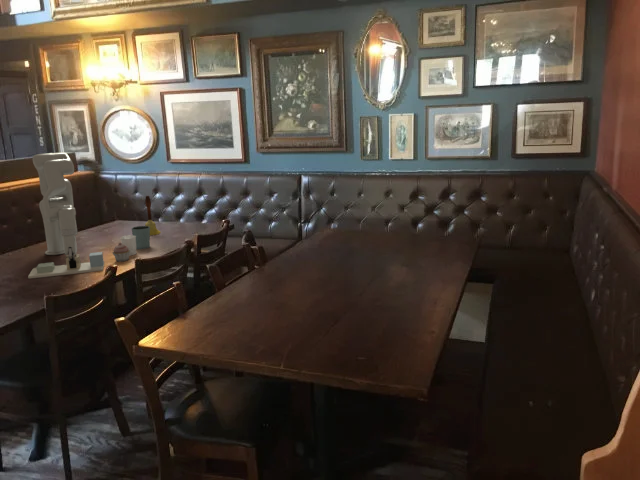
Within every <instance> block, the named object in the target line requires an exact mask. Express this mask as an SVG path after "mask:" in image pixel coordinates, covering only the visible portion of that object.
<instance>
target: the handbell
mask: <svg viewBox="0 0 640 480" xmlns="http://www.w3.org/2000/svg"><path fill="white" fill-rule="evenodd" d="M144 202H145V208H146V213H147V222H145V224H144V226H149V227H150V235H149V236H150V237H151V236H157V235H160V234H161V233H162V232H161V231H160V230H159V229H158V228H157V226H156V222H155V221H153V219H152V212H151V210H152V209H151V207H152V202H151V196H149V195H145V199H144Z"/></svg>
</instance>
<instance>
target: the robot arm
mask: <svg viewBox="0 0 640 480" xmlns="http://www.w3.org/2000/svg"><path fill="white" fill-rule="evenodd" d="M32 163H33V166H34V168H35V169H36V171H37V173H38V178H39V179H38V180H39V189H40V193H41V195H42V196H43V197H42V199H41V200H40V201H39V203H38V204H39V210H40V213H41V217H42V222H43V226H44V234H45V241H46V246H47V250H46V251H45V252H44V253H45V255H47V256H57V255H63V254H64V255H65V256H67V255H68V256H69V266H70V269H71V268H77V265H76V260H75V255H76V254H77V252H78V244H77V238H76V237H77V235H78V227H77V220H76V219H77V217H76V215H77V211H76V207H74V205H75V204H74V194H73V187H72V183H71V181H70V180H69V179H67V178H65V177H64V176H68V175H69V176H71V175H74V172H75V166H74V163H73V160H72V159H71V157H70V156H69V155H68V153H66V152H48V153H38V154H34V155H33V157H32Z"/></svg>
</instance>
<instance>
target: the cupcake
mask: <svg viewBox="0 0 640 480" xmlns="http://www.w3.org/2000/svg"><path fill="white" fill-rule="evenodd" d="M111 254H112V255H113V256H114V259H115V261H116V262H118V263H119V262H121V263H122V262H127V261H129V258H130V256H129V254H130V250H128V247H127V246H126V245H125V244H123V243H122V242H118V244H117V245H115V246H114V247H113V250H112V253H111Z"/></svg>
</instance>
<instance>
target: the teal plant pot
mask: <svg viewBox="0 0 640 480" xmlns="http://www.w3.org/2000/svg"><path fill="white" fill-rule="evenodd" d="M131 233H132V235H133V236H136V250H144V249H149V248H150V247H151V241H150V240H151V238H150V237H151V235H150V227H149V226H145V225H137V226H133V227H131ZM149 235H150V236H149Z"/></svg>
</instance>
